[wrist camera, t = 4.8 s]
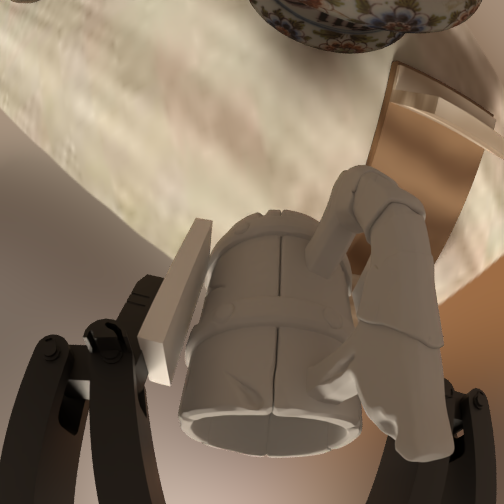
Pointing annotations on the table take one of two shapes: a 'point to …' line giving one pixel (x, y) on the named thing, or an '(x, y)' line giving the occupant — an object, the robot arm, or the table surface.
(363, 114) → the table surface
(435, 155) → the shelf
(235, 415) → the mug
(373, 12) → the apothecary jar
